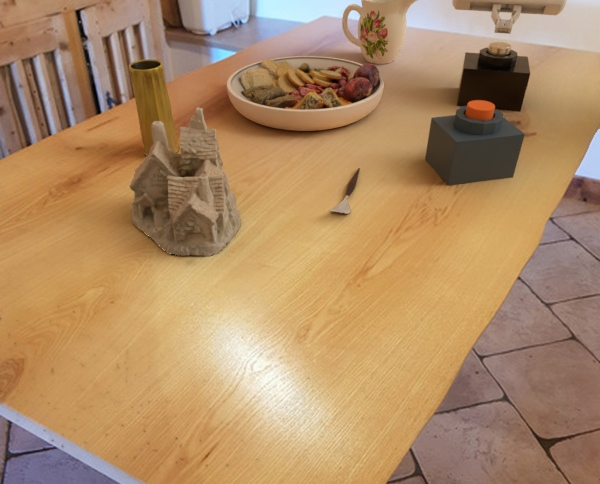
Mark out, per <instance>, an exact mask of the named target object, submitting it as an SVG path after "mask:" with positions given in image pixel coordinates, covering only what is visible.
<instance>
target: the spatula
mask: <svg viewBox="0 0 600 484" xmlns="http://www.w3.org/2000/svg"><path fill="white" fill-rule="evenodd" d="M360 170H361V168H360V167H358V168H357V170H356V171H355V173H354V174H353V176H352V177H351V179H350V181H348V184H347V188H346V192H345V196H344V199H343V200H342V201H341V202H339V203H338V204H337V205H335V206H334V207H333V208H332V209H328V212H330V213H331V212H334V213H339V214H345V215H348V214H350V213H351V207H350V205H349V203H348V199H349V198H350V196H351V194H352V193H353V192H354V190H355V189H356V186H357V182H358V178H359V174H360Z"/></svg>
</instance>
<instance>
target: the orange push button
mask: <svg viewBox="0 0 600 484" xmlns="http://www.w3.org/2000/svg"><path fill="white" fill-rule="evenodd" d="M494 109H495V105H494V104H493V103H491V102H488V101H483V100H474V101H470V102H468V104H467V109H466V114H465V116H466V117H469V118H471V119H474V120H490V119H492V118H493V114H494Z"/></svg>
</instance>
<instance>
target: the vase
mask: <svg viewBox="0 0 600 484" xmlns="http://www.w3.org/2000/svg"><path fill="white" fill-rule="evenodd" d="M128 71H129V75H130V80H131V81H130V82H131V85H132V91H133V95H134V101H135V107H136V112H137V117H138V123H139V124H138V125H139V130H140V135H141V141H142V150H143V154H144V153H145V154H147V155H148V154H149V151H150V147H152V145H153V144H154V143H153V138H152V123H153V122H154V121H161V122H162V123H163V124H164V128H165V132H166V136H167V141H168V148H171V149H172V150H173V151H174V152H175V153H176V154H178V152H180V151H179V150H180V143H179V141H178V135H177V130H176V125H175V120H174V117H173V111H172V106H171V101H170V96H169V92H168V88H167V83H166V77H165V71H164V63H163V62H162V61H161V60H160V59H153V58H148V59H147V58H146V59H145V58H144V59H138V60H135V61H132V62H130V63H129V65H128ZM145 154H144V155H145ZM147 155H146V156H147Z"/></svg>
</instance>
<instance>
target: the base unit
mask: <svg viewBox="0 0 600 484" xmlns="http://www.w3.org/2000/svg"><path fill="white" fill-rule="evenodd" d="M488 48H489V46H487V47H484V48H482V49H479V52H468V51H467V52H465V53H464V58H463V63H462V69H461V73H460V74H461V76H460V81H459V86H458V94H457V101H456V107H463V106H467V104H468V102H470V101H474V100H483V101H488V102H491V103H493V104H494V105H495V109H497V110H499V111H509V112H521V111H522V107H523V103H524V99H525V95H526V91H527V88H528V84H529V80H530V76H531V70H530V69H531V68H530V62H529V57H528V56H524V55H518V52H517V51H515V50H514V49H512V48H511V49H510V54H509V56H503V57H501V56H493V55H489V54H487V53H488Z"/></svg>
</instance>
